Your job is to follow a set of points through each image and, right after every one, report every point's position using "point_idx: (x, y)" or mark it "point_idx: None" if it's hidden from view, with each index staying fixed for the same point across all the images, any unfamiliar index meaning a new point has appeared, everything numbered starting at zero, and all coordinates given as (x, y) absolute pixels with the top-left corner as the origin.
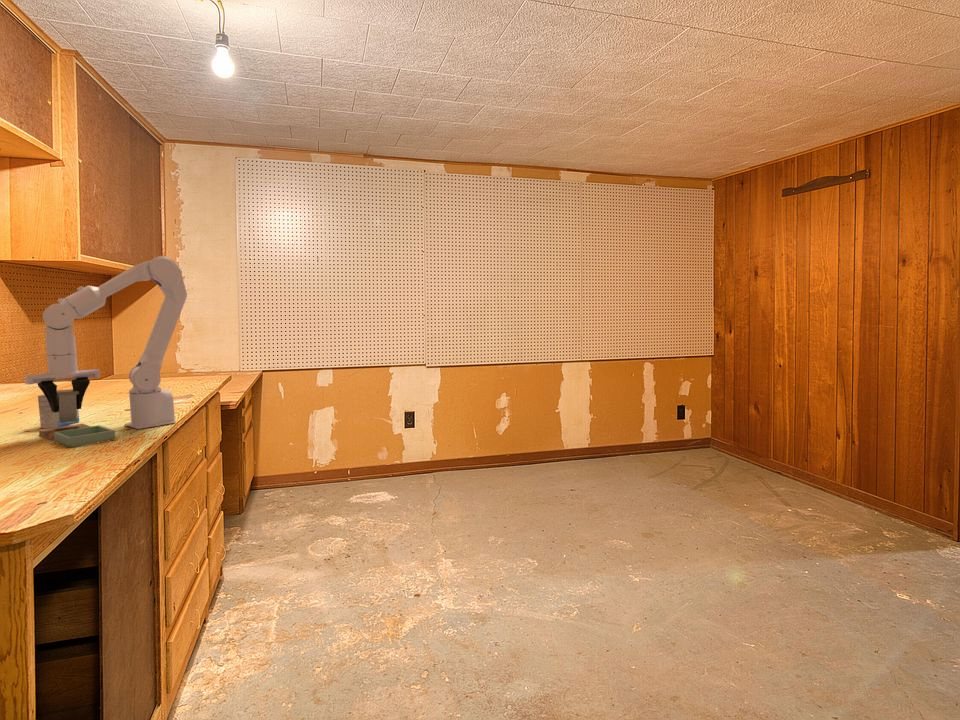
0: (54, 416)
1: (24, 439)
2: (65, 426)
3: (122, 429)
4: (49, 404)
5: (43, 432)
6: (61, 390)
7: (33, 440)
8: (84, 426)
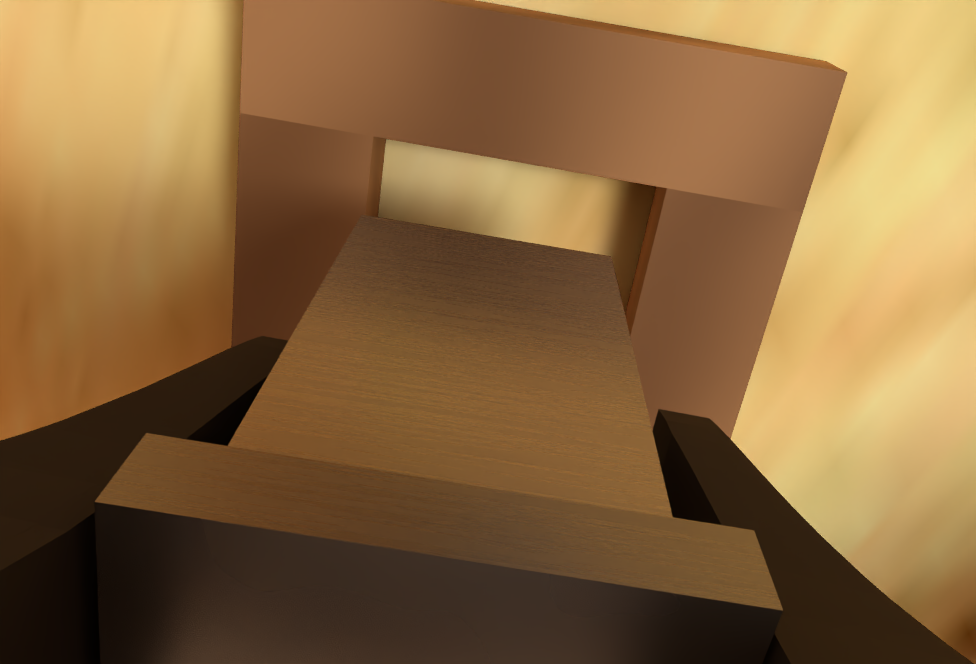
0: (347, 241)
1: (66, 90)
2: (583, 72)
3: (945, 590)
4: (173, 380)
5: (239, 186)
6: (370, 657)
7: (123, 252)
8: (704, 331)
